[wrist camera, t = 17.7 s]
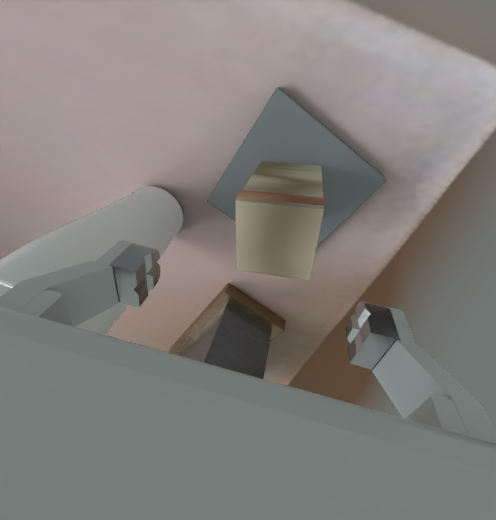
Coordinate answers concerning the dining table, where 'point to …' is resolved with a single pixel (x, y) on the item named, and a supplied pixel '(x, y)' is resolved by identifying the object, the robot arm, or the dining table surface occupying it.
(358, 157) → the mat
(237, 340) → the cabinet
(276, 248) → the block
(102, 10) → the dining table surface
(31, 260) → the drinking glass
